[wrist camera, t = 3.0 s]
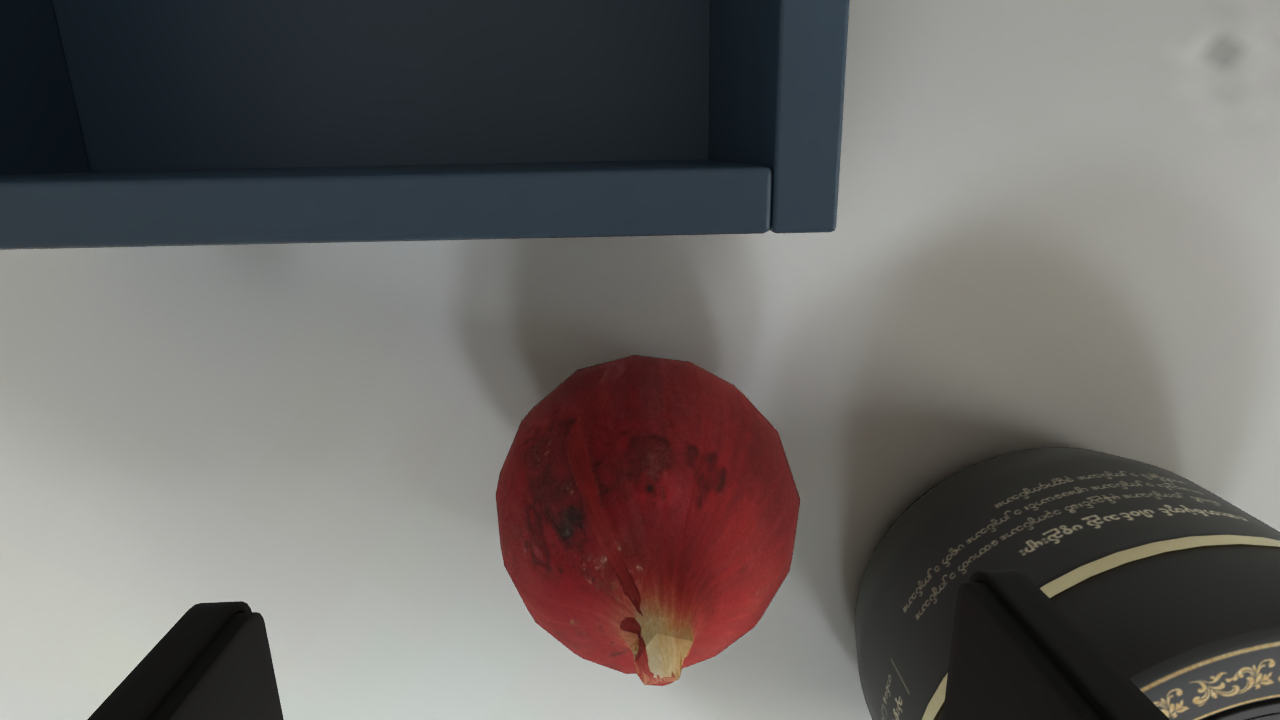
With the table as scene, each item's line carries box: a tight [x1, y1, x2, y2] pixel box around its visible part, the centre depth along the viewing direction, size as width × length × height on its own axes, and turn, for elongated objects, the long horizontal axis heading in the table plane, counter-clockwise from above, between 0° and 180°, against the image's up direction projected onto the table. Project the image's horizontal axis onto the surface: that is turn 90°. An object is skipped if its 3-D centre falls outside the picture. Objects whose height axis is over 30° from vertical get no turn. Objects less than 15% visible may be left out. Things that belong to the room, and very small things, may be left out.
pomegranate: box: [496, 355, 800, 686], centre depth 14 cm, size 6×6×8 cm
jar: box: [855, 448, 1280, 720], centre depth 15 cm, size 10×10×8 cm
